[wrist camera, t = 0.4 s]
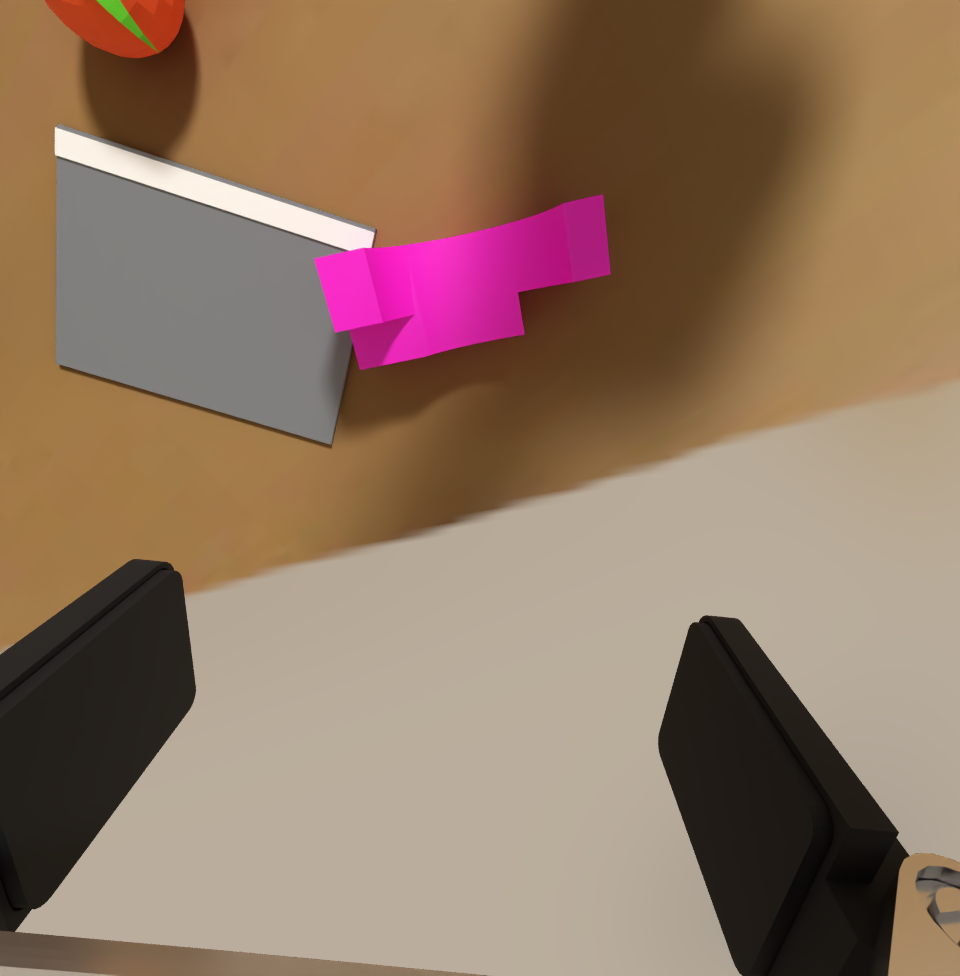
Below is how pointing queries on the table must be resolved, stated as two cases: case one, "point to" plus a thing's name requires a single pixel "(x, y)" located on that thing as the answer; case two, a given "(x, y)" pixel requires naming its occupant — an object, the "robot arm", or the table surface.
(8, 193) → the table surface
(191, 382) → the mat
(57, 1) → the clementine
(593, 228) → the toy block
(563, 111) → the table surface
